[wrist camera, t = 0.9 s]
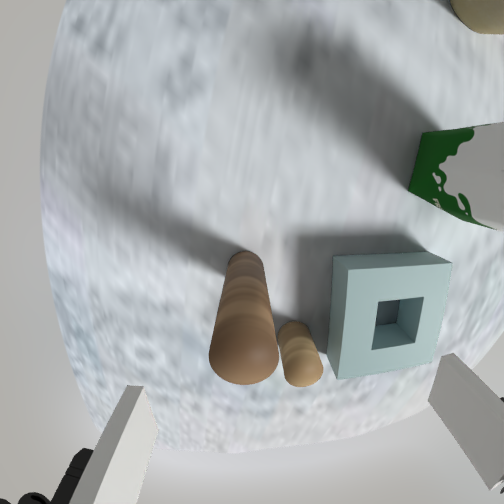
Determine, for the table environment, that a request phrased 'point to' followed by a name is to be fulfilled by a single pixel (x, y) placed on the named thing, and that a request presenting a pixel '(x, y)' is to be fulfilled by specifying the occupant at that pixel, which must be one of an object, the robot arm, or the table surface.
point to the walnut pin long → (244, 324)
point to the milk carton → (463, 173)
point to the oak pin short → (299, 355)
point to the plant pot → (481, 15)
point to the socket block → (365, 310)
